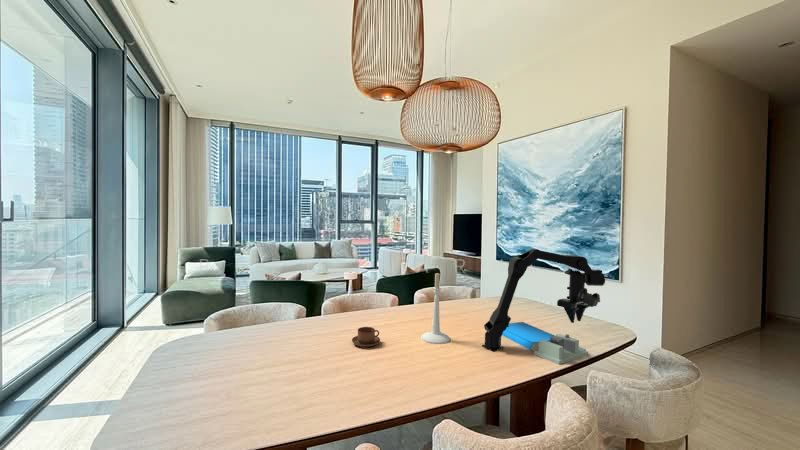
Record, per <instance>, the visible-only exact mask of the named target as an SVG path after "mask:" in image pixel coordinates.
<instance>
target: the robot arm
mask: <svg viewBox="0 0 800 450" xmlns="http://www.w3.org/2000/svg"><path fill="white" fill-rule="evenodd" d="M538 259H539V260H544V261H548V262H553V263H558V264H561V265H564V266H566V267H569V268H568V269H567V270H566V271H564V274H565V275H568V276H569V283H568V284H569V286H567V287H566V289H567V290H568V295H567V296H566V298H559V299H557V300H556V301H557V302H556V307H561V308H563V310H564V311H565V312H566V315H567V316H568V317H567V318H568V319H569V322H570V323H572V324H574V323H575V319H576V320H577V322H581V320H582V318H583V316H584V313H585V311H586V309H588V308H589V307H590V308H593V307H597V305H598V303H600V302H601V295H600V294H599V293H598V292H596V293H595V292H594V293H589V292H588V288H586V287H585V285H587V287H588V286H591V287H592V286H593V287H594V286H595V287H596V286H597V287H598V286H599V287H603V286H605V283H606V278H605V275H604V273H603V270H602V269H592V268H591V266H590V265H589V264H588V263H589V262H588V259H587V258H586V257H585V256H582V255H577V254H560V253H554V252H549V251H544V250H540V249H537V248H530V249H529V250H528V251H525V252H524V253H520V254H519V255H517V256H514V257H512V258H510V259H509V262H508V266H507V267H508V268H507V279H506V281H505V284H504V288H503V291H502V294H501V296H500V299H499V302H498V304H497V305H498V306H497V308H496V309H494V311H493V312H492V313H491V315H490V317H489V320H488V321H486V322H485V324H484V325H483V328H484V330H485V333H484V344H481V347H482V348H485V349H487V350H490V351H491V352H495V351H499V350H503V349H504V347H503V346H502V343H501V342H502V336H503V335H502V333H503V331H505V330H506V328H507V327H509V323H511V320H512V317H510V315H509V310H510V307H511V304H512V302H513V298H514V296H515V292H516V289H517V287H518V283H519V281H520V279H521V278H522V277H523V276H524V275H525V273H526V271H527V269H528V267H530V266H531V265H533V263H535V262H536V260H538ZM573 269H575V270H573Z"/></svg>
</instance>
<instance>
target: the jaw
mask: <svg viewBox="0 0 800 450" xmlns="http://www.w3.org/2000/svg"><path fill="white" fill-rule="evenodd" d="M555 336H557V337H560V338H563V339H564V350H567V351H570V352H572V353H578V352H579V347H580V340H579V339H576V338H575V337H571V336H570V335H569V334H561V333H556V334H555Z"/></svg>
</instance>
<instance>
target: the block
mask: <svg viewBox="0 0 800 450" xmlns="http://www.w3.org/2000/svg"><path fill="white" fill-rule="evenodd" d="M550 342H551V343H554V344H557V345H560V346H562V347H564V339H563V338H560V337H557V336H556V335H555V336H552V337H550ZM563 351H564V350H563Z"/></svg>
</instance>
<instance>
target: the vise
mask: <svg viewBox="0 0 800 450" xmlns="http://www.w3.org/2000/svg"><path fill="white" fill-rule="evenodd" d="M563 350H564V347H562V346H560V345H557V344H554V343H551V342H549V341H546V340H543V339H542V340H539V350H534V351H533V354H534V355H536V356H537V357H541V358H542V359H545V360H547V361H549V362H552V363H555V364H557V365H561V364H563V363H566V362H570V361H573V360H577V359H579V358H582V357H584V356H587V355H588V354H589V351H588V350H587V349H586V347H582V346H579V352H578V353H572V352H570V351H567V350H564V351H563Z"/></svg>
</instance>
